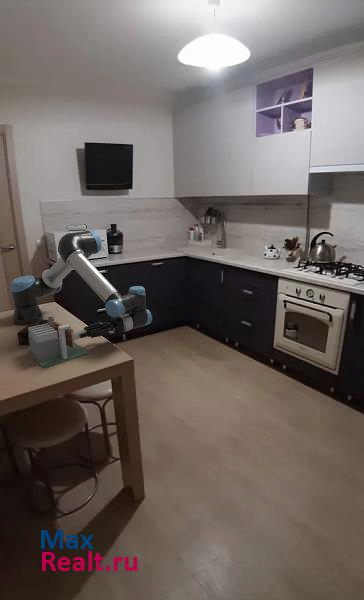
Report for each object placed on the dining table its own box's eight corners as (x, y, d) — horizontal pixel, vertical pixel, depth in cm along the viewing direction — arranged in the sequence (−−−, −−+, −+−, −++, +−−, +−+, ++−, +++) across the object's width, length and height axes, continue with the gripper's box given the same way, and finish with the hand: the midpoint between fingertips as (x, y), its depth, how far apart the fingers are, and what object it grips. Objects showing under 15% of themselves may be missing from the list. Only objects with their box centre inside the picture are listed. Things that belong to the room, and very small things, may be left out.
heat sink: (27, 351, 154) (23, 320, 150) (70, 340, 166) (66, 310, 161) (42, 367, 139) (37, 333, 135) (88, 354, 151) (85, 322, 146)
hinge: (50, 342, 159) (47, 317, 155) (55, 341, 161) (52, 316, 157) (72, 354, 147) (69, 327, 144) (77, 352, 149) (74, 325, 145)
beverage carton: (52, 330, 178) (51, 318, 176) (34, 346, 160) (32, 332, 158) (37, 330, 179) (35, 317, 177) (17, 346, 160) (15, 332, 158)
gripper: (128, 335, 159) (78, 350, 145) (114, 327, 169) (65, 340, 155) (127, 320, 157) (77, 333, 142) (113, 312, 167) (64, 324, 153)
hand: (71, 337), depth 149 cm, fingers closed
